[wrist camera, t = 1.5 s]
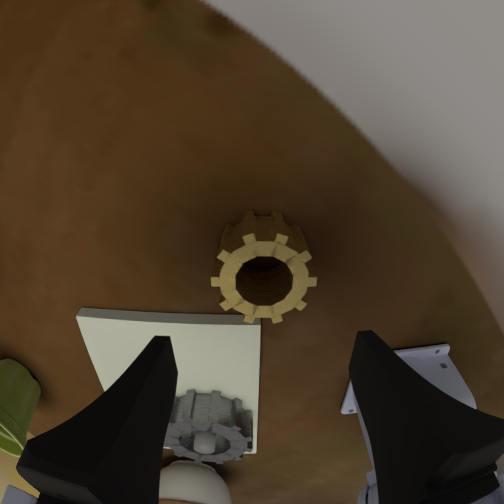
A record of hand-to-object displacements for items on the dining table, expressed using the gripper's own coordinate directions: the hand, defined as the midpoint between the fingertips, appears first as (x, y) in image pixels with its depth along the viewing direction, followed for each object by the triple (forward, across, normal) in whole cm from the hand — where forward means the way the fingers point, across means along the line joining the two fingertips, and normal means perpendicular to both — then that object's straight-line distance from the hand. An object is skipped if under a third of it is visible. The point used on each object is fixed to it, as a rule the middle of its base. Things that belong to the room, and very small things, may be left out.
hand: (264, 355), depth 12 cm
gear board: (+9, +7, +14) cm, 18 cm away
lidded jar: (+9, +8, +31) cm, 33 cm away
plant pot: (+10, +27, +16) cm, 33 cm away
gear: (+8, +4, +16) cm, 18 cm away
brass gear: (+10, 0, 0) cm, 10 cm away
